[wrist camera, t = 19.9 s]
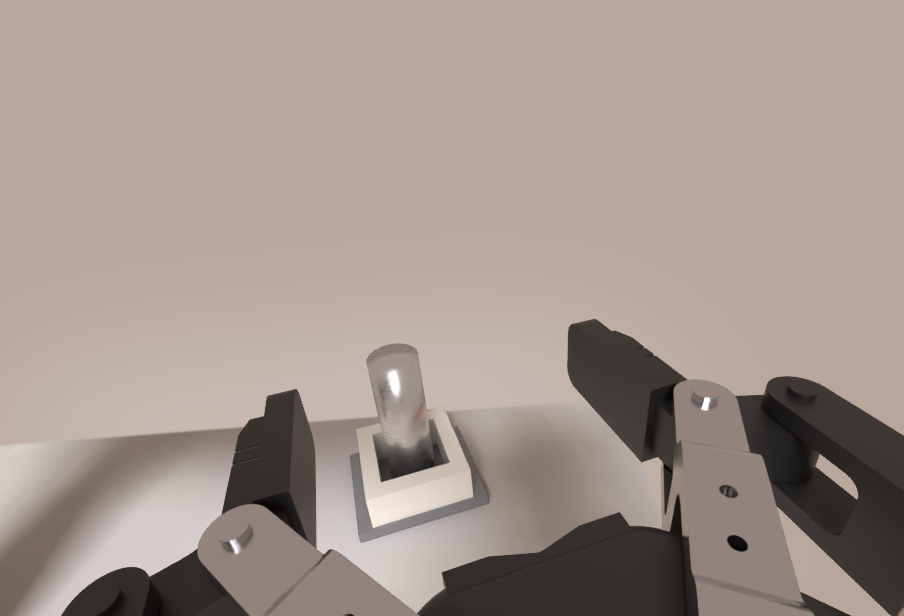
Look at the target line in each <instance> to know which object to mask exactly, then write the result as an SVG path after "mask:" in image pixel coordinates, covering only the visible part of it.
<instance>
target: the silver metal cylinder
mask: <svg viewBox="0 0 904 616" xmlns="http://www.w3.org/2000/svg"><path fill="white" fill-rule="evenodd" d="M367 367H368V371H369V376H370V381H371V385H372V390H373V394H374V398H375V403H376V408H377V412H378V417H379V421H380V426H381V430H382V435H383V439H384V444H385V448H386V453H387V458H388V462H389V467H390V471H391V476H392V479H395V478H398V477H402V476H405V475H408V474H412V473H415V472H419V471H422V470H426V469H429V468H433V467H436V466H435V460H434V454H433V447H432V441H431V434H430V428H429V422H428V415H427V409H426V403H425V397H424V390H423V383H422V377H421V371H420V365H419V358H418V352H417V350H416V349H415V348H414V347H412V346H410V345H407V344H390V345H386V346H383V347H381V348H378V349H377V350H375V351H373V352H372V353H371V354H370V355H369V356H368V358H367Z"/></svg>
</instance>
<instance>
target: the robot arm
mask: <svg viewBox="0 0 904 616" xmlns="http://www.w3.org/2000/svg"><path fill="white" fill-rule="evenodd" d="M567 366H568V367H567V368H568V374H569V377H570V380H571V382H572V384H573V386H574V387H575V388H576V389H577V391H578V392H579V393H580V394H581V395H582V396H583V397H584V398H585V400H586V401H587V402H588V403H589V404H590V405H591V406H592V407H593V408H594V410H595V411H596V412H597V413H598V414H599V415H600V416H601V417H602V419H603V420H604V421H605V422H606V423H607V424H608V425H609V426H610V427H611V429H612V430H613V431H614V432H615V433H616V434H617V435H618V436H619V438H620V439H621V440H622V441H623V442H624V443H625V444H626V445H627V446H628V448H629V449H630V450H631V451H632V452H633V453H634V454H635V455H636V457H637V458H638V459H639V460H640V461H641V462H644V461H647V460H650V459H653V458H656V457H659V458H660V460H662V467H661V498H662V499H661V501H662V530H661V529H658V528H652V527H645V526H629V524H628V523H627V522H626V520H625V519H624V518H623V516H622V515H621V513H620V512H619V513H616V514H613V515H610V516H607V517H604V518H601V519H598V520H595V521H592V522H589V523H586V524H583V525H580V526H578V527H577V528H575V529H574V530H572V531H571V532H569V533H568V534H566V535H565V536H564V537H562V538H561V539H559V540H558V541H556V542H555V543H554V544H552V545H551V546H549V547H548V548H546V549H545V550H543V551H541V552H538V553H529V554H516V555H503V556H490V557H486V558H483V559H480V560H477V561H474V562H471V563H468V564H465V565H462V566H459V567H456V568H453V569H450V570H447V571H444V572H442V577H443V582H444V588H445V589H444V590H442V591H441V592H440V593H438V594H437V595H435V596H434V597H433V598H432V599H431V600H430V601H428V602H427V603H426V604H425V605H424V606H423V607H422V609H421V610H420V611H419V612H418V613H415V612H414V611H413V610H412V609H410V608H409V607H408V606H407V605H405V604H404V603H403V602H401V601H400V600H399V599H398V598H396V597H395V596H394V595H393V594H391V593H390V592H389V591H388V590H386V589H385V588H384V587H382V586H381V585H380V584H379V583H377V582H376V581H375V580H374V579H372V578H371V577H370V576H369V575H367V574H366V573H365V572H363V571H362V570H361V569H360V568H358V567H357V566H356V565H355V564H353V563H352V562H351V561H349V560H348V559H347V558H346V557H344V556H343V555H342V554H340V553H339V552H337V551H335V550H332V549H330V550H328V551H327V552H326V553H325V554H323V553H321V552H320V551H318V550H317V549H316V472H315V448H314V442H313V437H312V433H311V430H310V427H309V423H308V420H307V417H306V414H305V411H304V408H303V404H302V401H301V398H300V395H299V392H298V391H297V389H294V390H290V391H286V392H282V393H278V394H273V395H269V396H267V400H266V407H265V414H264V416H263V417H259V418H255V419H251V420H249V421H248V423H247V424H246V426H245V427H244V428H243V430H242V431H241V432H240V434H239V435H238V440H237V444H236V449H235V452H236V454H234V459H233V463H232V464H233V467H232V468H231V473H230V477H229V482H228V487H227V492H226V496H225V501H224V506H223V510H222V515H221V516H220V517H218V518H217V519H216V520H215V521H213V522H212V523H211V525H210V526H209V527H208V528H207V529H206V530H205V532H204V533H203V535H202V537H201V539H200V541H199V544H198V549H196V550H195V551H194V552H192V553H191V554H189V555H188V556H186V557H184V558H183V559H181V560H179V561H177V562H176V563H174V564H172V565H170V566H168V567H167V568H165V569H163V570H161V571H159V572H158V573H156V574H154V575H152V576H150V577H149V576H148V574H147V573H146V572H145V571H144V570H142V569H140V568H137V567H127V568H122V569H118V570H115V571H113V572H110V573H108V574H106V575H104V576H102V577H100V578H99V579H97V580H96V581H94V582H93V583H91V584H90V585H89V586H87V587H86V588H85V589H84V590H82V591H81V592H80V593H79V594H78V595H77V596H76V597H75V598H74V599H73V600H72V601H71V603H70V604H69V605H68V606H67V608H66V609H65V611H64V612H63V614H62V615H61V616H850V615H848V614H846V613H844V612H842V611H840V610H838V609H836V608H833V607H831V606H829V605H827V604H825V603H823V602H821V601H818V600H816V599H814V598H812V597H810V596H808V595H806V594H804V593H802V592H800V590H799V586H798V583H797V579H796V576H795V572H794V568H793V564H792V561H791V558H790V554H789V550H788V546H787V543H786V539H785V535H784V532H783V528H782V525H781V521H780V517H779V514H778V510H777V507H779V509H781V510H782V511H783V512H784V513H785V514H786V515H787V516H788V517H789V518H790V519H791V520H792V521H793V522H794V523H795V524H796V525H797V526H798V527H799V528H800V529H801V530H802V531H803V532H805V533H806V534H807V535H808V536H809V537H810V538H811V539H812V540H813V541H814V542H815V543H816V544H817V545H818V546H819V547H820V548H821V549H822V550H823V551H824V552H825V553H826V554H827V555H828V556H830V557H831V558H832V559H833V560H834V561H835V562H836V563H837V564H838V565H839V566H840V567H841V568H842V569H843V570H844V571H845V572H846V573H847V574H848V575H849V576H850V577H851V578H852V579H853V580H855V582H857V583H858V584H859V585H860V586H861V587H862V588H863V589H864V590H865V591H866V592H867V593H868V594H869V595H870V596H871V597H872V598H873V599H874V600H875V601H876V602H877V603H879V604H880V606H882V607H883V608H884V609H885V610H886V611H887V612H888V613H889V614H890V615H891V616H904V436H903V435H902V434H900V433H898V432H897V431H895V430H894V429H892V428H890V427H889V426H887V425H885V424H884V423H882V422H881V421H879V420H877V419H876V418H874V417H872V416H871V415H869V414H868V413H866V412H864V411H863V410H861V409H860V408H858V407H856V406H855V405H853V404H851V403H850V402H848V401H847V400H845V399H843V398H842V397H840V396H838V395H837V394H835V393H834V392H832V391H830V390H829V389H827V388H826V387H824V386H822V385H820V384H818V383H815V382H813V381H810V380H807V379H803V378H798V377H787V376H786V377H777V378H774V379H772V380H770V381H769V382H768V383H767V386H766V390H765V393H764V395H750V396H735V395H734V394H733V393H732V392H731V391H729V390H728V389H727V388H725V387H723V386H721V385H719V384H716V383H713V382H710V381H705V380H687V379H686V378H684V377H683V376H682V375H680V374H679V373H678V372H677V371H675V370H674V369H672V368H671V367H670V366H669V365H667V364H666V363H664V362H663V361H662V360H661V359H659V358H658V357H657V356H654V355H653V353H652V352H650V351H649V350H647V349H646V348H645V349H644V346H642V345H641V344H640V343H638V342H637V341H636V340H635V339H633V338H632V337H630V336H627V335H625V334H622V333H620V332H617V331H611V330H609V329H608V328H607V327H606V326H604V325H603V324H602V323H601V322H599V321H598V320H596V319H592V320H588V321H584V322H579V323H575V324H571V326H570V327H569V331H568V363H567ZM820 454H821V455H822V456H823V457H825V458H826V459H827V460H829V461H830V462H831V463H833V464H834V465H835V466H837V467H838V468H839V469H840V470H842V471H843V472H844V473H846V474H847V475H848V476H849V477H850V478H851V479H852V481H853V482H854V484H855V485H856V487H857V490H858V499H857V500H856V499H855V498H854V497H853V496H851V495H850V494H849V493H847V492H846V491H845V490H844V489H843V488H841V487H840V486H839V485H837V484H836V483H835V482H834V481H832V480H831V479H830V478H829V477H828V476H826V475H825V474H824V473H823V472H821V471H820V470H819V469H818V468H816V467H815V465H816V463H817V460H818V457H819V455H820Z"/></svg>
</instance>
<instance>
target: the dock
mask: <svg viewBox="0 0 904 616" xmlns="http://www.w3.org/2000/svg"><path fill="white" fill-rule="evenodd" d="M427 415H428V422H429V428H430V434H431V441H432V447H433V454H434V460H435V466H436V467H433V468H429V469H426V470H422V471H419V472H415V473H412V474H408V475H405V476H402V477H398V478H395V479H392V476H391V471H390V467H389V462H388V458H387V453H386V448H385V444H384V439H383V435H382V430H381V426H380V423H377V424H374V425H370V426H366V427H362V428H358V429H356V432H357V439H358V447H359V453H357V454H353V455H350V460H351V469H352V478H353V487H354V497H355V506H356V515H357V525H358V534H359V538H360V542H361V543H362V542H365V541H368V540H372V539H375V538H378V537H381V536H384V535H388V534H391V533H394V532H397V531H400V530H403V529H407V528H410V527H413V526H416V525H419V524H423V523H426V522H429V521H432V520H435V519H439V518H442V517H445V516H448V515H451V514H455V513H458V512H461V511H464V510H467V509H470V508H474V507H477V506H480V505H483V504H486V503H488V495H487V493H486V490H485V488H484V486H483V484H482V481H481V479H480V477H479V474H478V472H477V470H476V468H475V465H474V463H473V461H472V458H471V456H470V454H469V452H468V449H467V447H466V445H465V443H464V440H463V438H462V436H461V433H460V431H459V429H458V427H457V426H456V427H452V425H451V423H450V420H449V418H448V415H447V413H446V411H445V408H444V407H438V408H435V409H431V410H427Z"/></svg>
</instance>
